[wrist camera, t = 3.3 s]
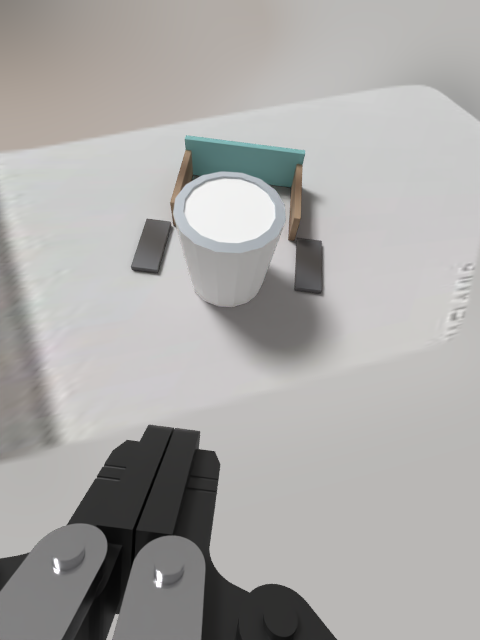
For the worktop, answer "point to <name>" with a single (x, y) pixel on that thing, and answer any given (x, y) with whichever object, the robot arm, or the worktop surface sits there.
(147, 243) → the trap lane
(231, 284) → the white cup
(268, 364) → the worktop surface
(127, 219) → the worktop surface
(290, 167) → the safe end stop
